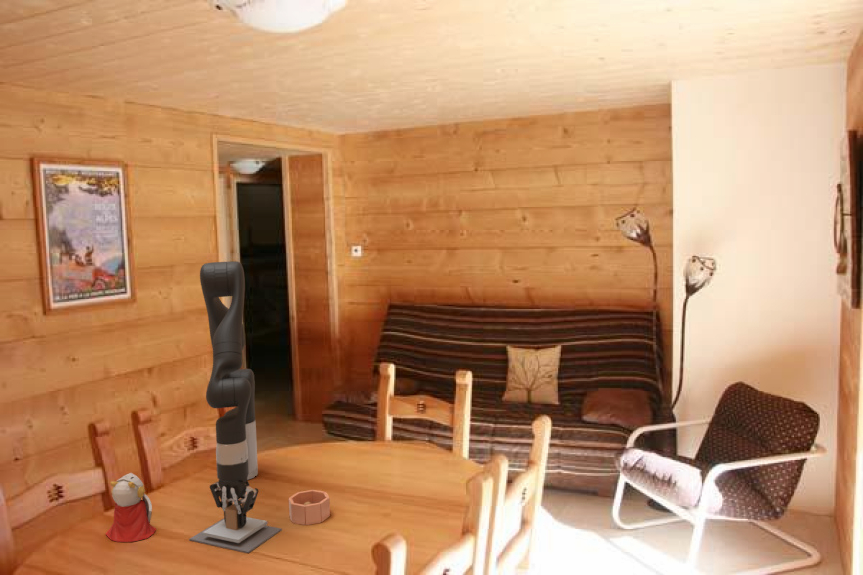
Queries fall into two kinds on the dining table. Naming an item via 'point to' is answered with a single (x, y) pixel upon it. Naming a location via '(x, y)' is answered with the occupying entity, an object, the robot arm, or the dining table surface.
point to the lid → (234, 527)
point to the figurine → (130, 511)
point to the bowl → (309, 507)
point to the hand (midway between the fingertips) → (235, 525)
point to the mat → (244, 545)
